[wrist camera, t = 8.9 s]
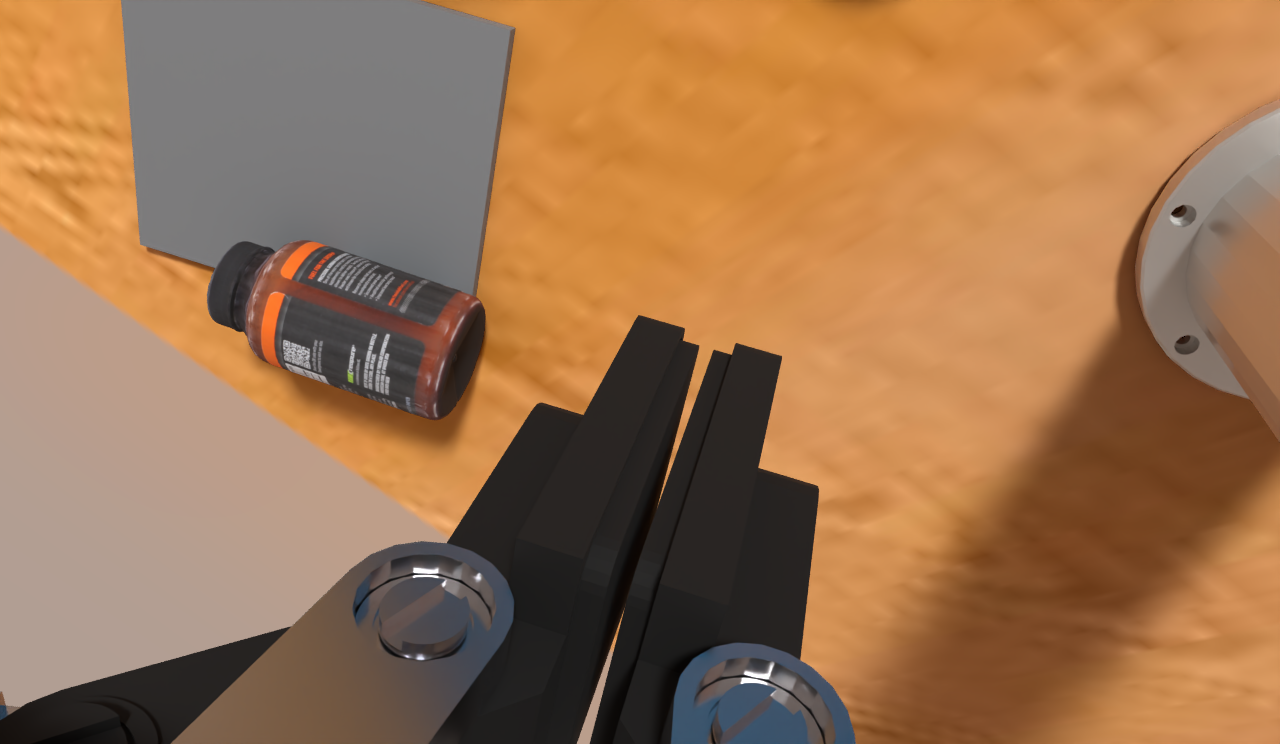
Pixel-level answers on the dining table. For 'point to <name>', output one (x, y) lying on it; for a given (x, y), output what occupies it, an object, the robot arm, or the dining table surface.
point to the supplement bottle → (351, 323)
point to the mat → (317, 128)
